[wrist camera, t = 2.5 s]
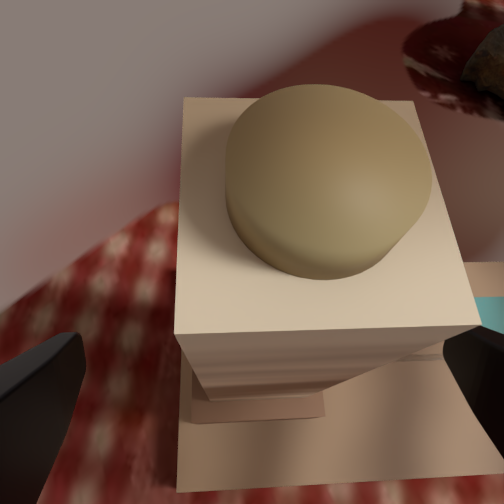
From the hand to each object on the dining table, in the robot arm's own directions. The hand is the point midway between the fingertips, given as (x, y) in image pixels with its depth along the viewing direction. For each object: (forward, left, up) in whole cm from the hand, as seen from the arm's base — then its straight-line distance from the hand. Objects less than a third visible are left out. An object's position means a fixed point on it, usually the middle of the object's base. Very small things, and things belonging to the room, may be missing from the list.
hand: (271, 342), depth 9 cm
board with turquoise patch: (+5, -4, -10) cm, 12 cm away
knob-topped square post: (+1, +1, -9) cm, 9 cm away
